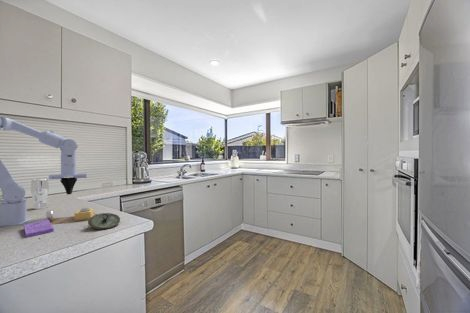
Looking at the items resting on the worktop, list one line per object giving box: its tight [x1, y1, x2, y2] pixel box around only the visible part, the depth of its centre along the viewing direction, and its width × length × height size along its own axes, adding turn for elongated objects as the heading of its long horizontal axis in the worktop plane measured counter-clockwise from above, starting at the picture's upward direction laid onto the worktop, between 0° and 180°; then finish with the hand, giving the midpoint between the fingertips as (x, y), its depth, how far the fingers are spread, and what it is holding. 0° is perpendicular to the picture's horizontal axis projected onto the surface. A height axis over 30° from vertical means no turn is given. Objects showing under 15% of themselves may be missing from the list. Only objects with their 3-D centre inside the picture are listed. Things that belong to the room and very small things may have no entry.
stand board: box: [44, 207, 98, 226], centre depth 88 cm, size 19×10×5 cm, turn 110°
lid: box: [87, 212, 121, 231], centre depth 81 cm, size 11×10×5 cm
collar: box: [73, 208, 95, 221], centre depth 90 cm, size 6×6×3 cm
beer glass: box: [30, 178, 50, 210], centre depth 112 cm, size 7×7×15 cm
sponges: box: [23, 218, 55, 238], centre depth 75 cm, size 7×13×2 cm, turn 48°
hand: (69, 194), depth 98 cm, fingers closed
